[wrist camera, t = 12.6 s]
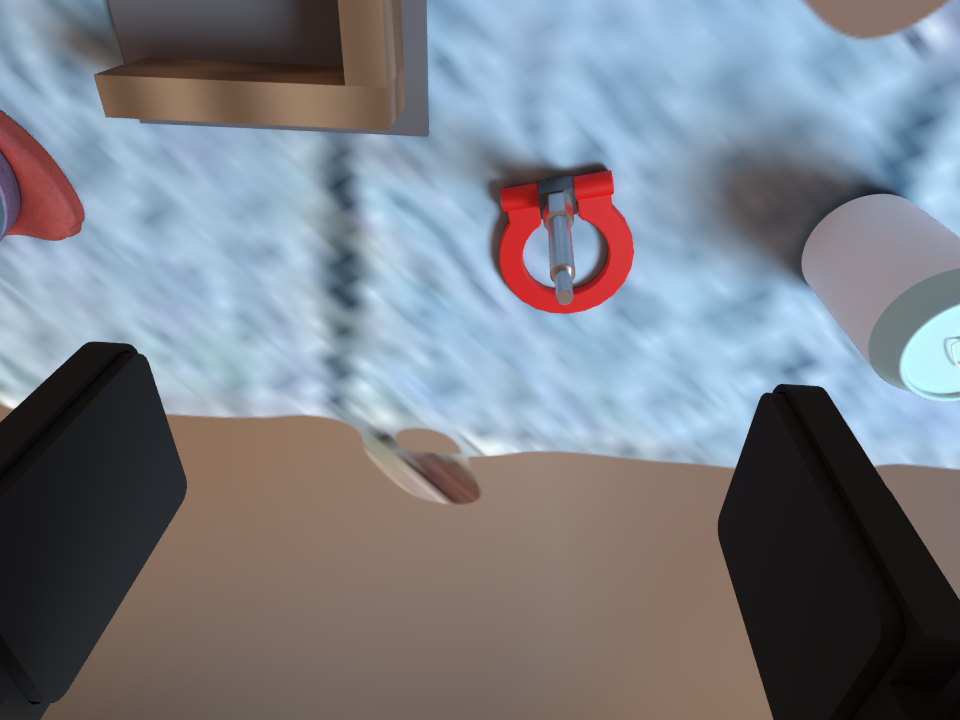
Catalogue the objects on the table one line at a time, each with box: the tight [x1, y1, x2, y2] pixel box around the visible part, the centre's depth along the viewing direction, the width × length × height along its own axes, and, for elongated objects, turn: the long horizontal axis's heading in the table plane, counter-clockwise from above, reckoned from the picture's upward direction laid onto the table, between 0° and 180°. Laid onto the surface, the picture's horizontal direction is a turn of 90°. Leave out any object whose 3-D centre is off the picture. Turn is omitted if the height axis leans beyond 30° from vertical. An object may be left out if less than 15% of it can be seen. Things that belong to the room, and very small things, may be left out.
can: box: [802, 194, 960, 401], centre depth 34 cm, size 7×7×12 cm
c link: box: [94, 0, 405, 130], centre depth 32 cm, size 14×9×5 cm, turn 88°
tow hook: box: [499, 170, 634, 314], centre depth 36 cm, size 8×13×9 cm
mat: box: [108, 0, 429, 136], centre depth 34 cm, size 17×12×1 cm
